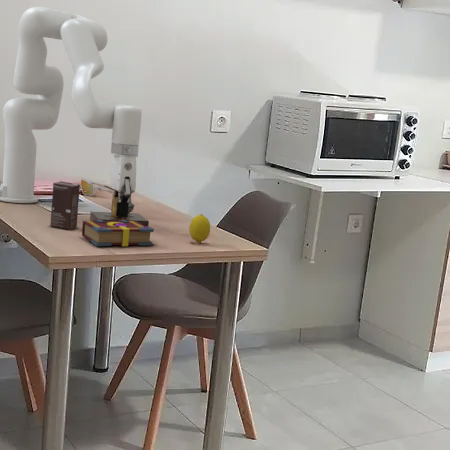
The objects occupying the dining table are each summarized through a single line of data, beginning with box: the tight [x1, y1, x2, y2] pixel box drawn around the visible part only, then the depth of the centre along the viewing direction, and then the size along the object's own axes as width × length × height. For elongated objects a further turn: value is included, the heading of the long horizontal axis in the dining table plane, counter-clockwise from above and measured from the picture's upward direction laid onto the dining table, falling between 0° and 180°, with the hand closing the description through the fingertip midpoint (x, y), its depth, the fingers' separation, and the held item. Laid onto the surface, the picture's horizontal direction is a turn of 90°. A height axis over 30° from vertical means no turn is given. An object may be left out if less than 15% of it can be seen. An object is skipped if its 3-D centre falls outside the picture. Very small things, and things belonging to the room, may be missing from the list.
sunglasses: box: [79, 177, 114, 197], centre depth 264 cm, size 14×15×5 cm
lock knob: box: [111, 197, 124, 218], centre depth 210 cm, size 4×4×5 cm
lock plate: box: [89, 211, 150, 227], centre depth 211 cm, size 14×11×3 cm
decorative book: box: [81, 220, 154, 247], centre depth 192 cm, size 11×16×5 cm
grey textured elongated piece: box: [124, 190, 136, 213], centre depth 227 cm, size 6×6×12 cm
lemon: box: [188, 213, 211, 244], centre depth 200 cm, size 6×6×8 cm
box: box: [50, 181, 81, 230], centre depth 201 cm, size 6×4×12 cm
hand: (119, 214), depth 211 cm, fingers closed on lock knob, 4 cm apart
